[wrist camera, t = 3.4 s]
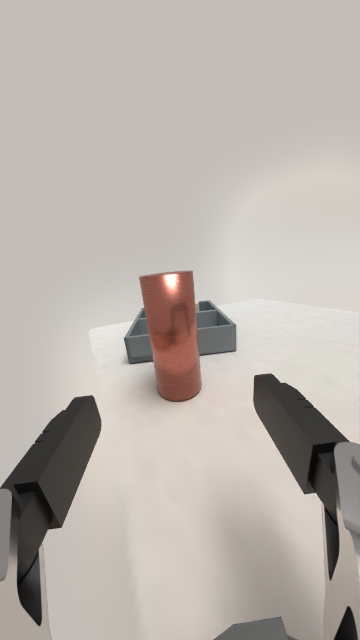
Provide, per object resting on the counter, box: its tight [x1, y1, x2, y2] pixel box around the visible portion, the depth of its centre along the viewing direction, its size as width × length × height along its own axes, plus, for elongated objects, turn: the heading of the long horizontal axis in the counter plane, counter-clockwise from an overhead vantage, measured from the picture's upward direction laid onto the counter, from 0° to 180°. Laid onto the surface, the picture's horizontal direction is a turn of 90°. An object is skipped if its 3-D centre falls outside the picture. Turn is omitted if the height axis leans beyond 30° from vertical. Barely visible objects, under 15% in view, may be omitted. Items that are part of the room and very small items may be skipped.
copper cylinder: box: [139, 271, 201, 401], centre depth 21 cm, size 6×6×14 cm
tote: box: [124, 301, 236, 363], centre depth 39 cm, size 18×20×4 cm
